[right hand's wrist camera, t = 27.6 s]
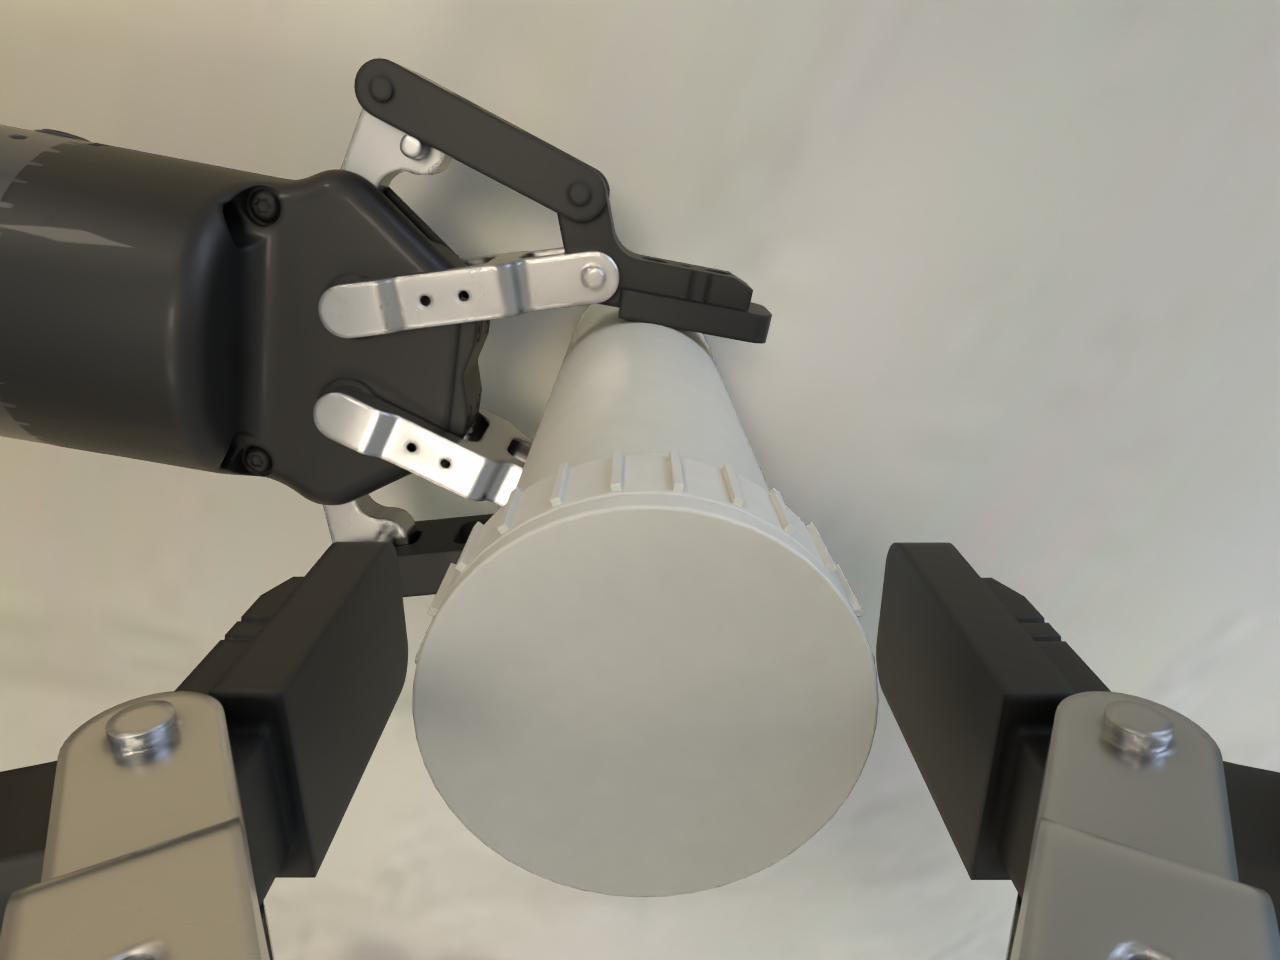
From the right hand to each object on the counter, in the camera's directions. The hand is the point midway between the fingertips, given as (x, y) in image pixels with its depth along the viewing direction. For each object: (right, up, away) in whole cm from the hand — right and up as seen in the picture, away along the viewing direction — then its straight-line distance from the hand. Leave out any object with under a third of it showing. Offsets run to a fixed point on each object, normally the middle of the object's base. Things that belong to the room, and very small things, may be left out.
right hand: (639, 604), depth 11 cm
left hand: (+3, +3, +10) cm, 11 cm away
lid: (0, -1, -2) cm, 2 cm away
